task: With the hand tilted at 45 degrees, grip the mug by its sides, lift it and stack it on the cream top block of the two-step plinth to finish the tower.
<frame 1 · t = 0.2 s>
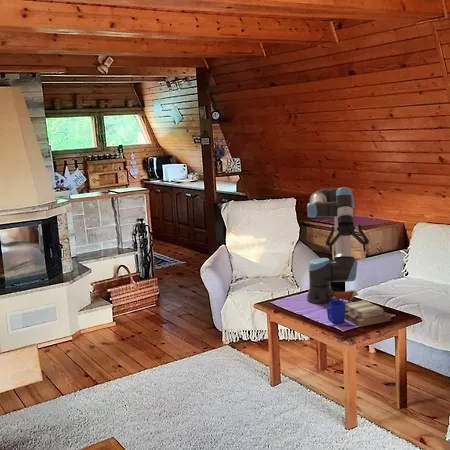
hand: (348, 258, 266), 36 cm above the table, tool tilted 35°, fingers open, 13 cm apart
plinth: (363, 317, 287), on the table
mug: (335, 323, 283), on the table
bull figurine: (346, 304, 310), on the table
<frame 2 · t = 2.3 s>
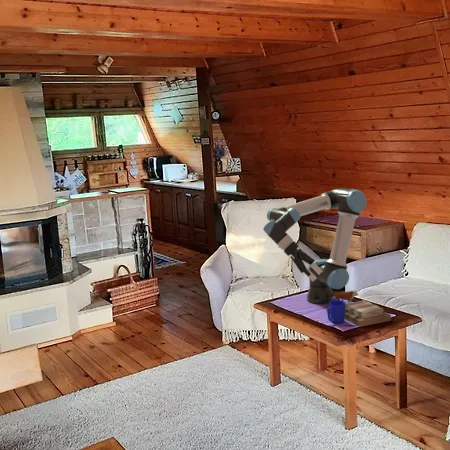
hand: (317, 276, 282), 23 cm above the table, tool tilted 45°, fingers open, 13 cm apart
nothing on the table moved.
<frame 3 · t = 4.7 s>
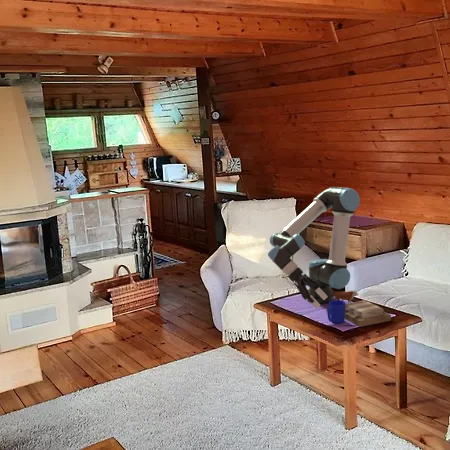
hand: (322, 302, 282), 10 cm above the table, tool tilted 45°, fingers open, 13 cm apart
nothing on the table moved.
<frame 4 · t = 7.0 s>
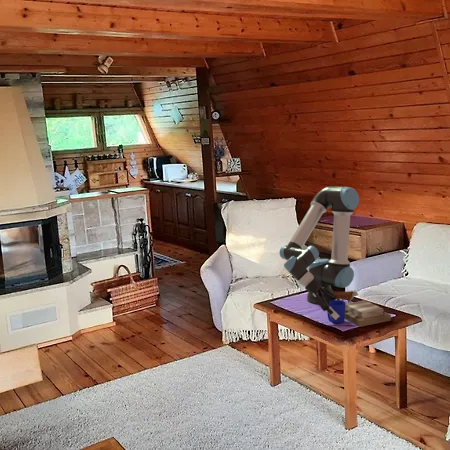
hand: (340, 313, 281), 5 cm above the table, tool tilted 45°, fingers closed on mug, 11 cm apart
mug: (335, 323, 283), on the table, touching gripper
everything else where it was.
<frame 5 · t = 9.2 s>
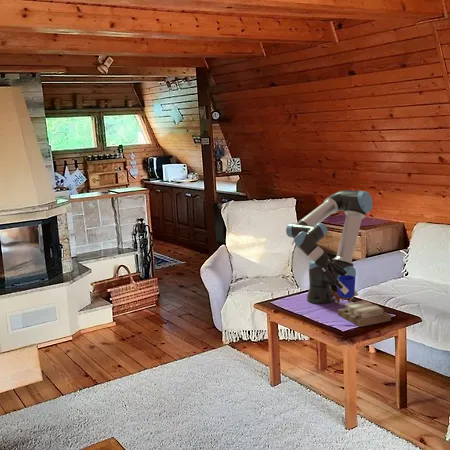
hand: (350, 288, 280), 17 cm above the table, tool tilted 45°, fingers closed on mug, 11 cm apart
mug: (345, 298, 282), point 12 cm above the table, touching gripper
everything else where it was.
when the fingers open (12 cm above the table, at t = 11.6 s): mug drops 1 cm, resting on plinth.
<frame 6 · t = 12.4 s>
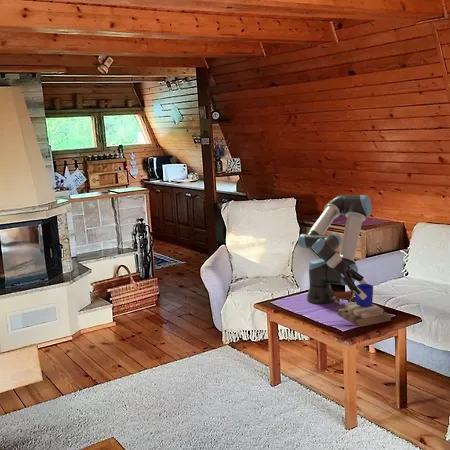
hand: (367, 294, 284), 13 cm above the table, tool tilted 45°, fingers open, 13 cm apart
mug: (363, 306, 287), point 6 cm above the table, touching plinth
everything else where it was.
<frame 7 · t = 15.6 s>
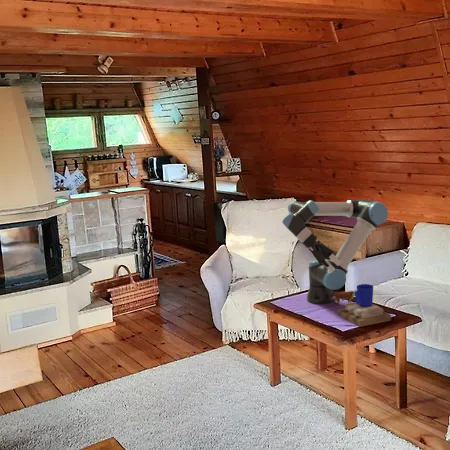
hand: (336, 267, 289), 26 cm above the table, tool tilted 45°, fingers open, 13 cm apart
nothing on the table moved.
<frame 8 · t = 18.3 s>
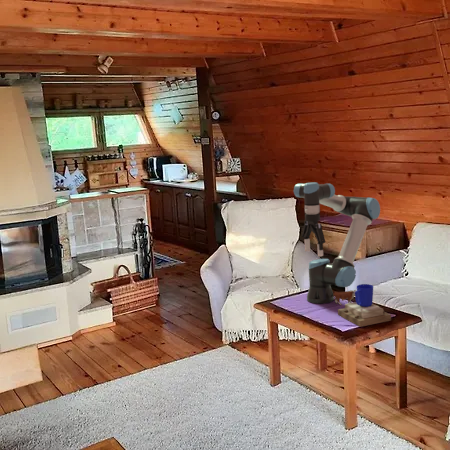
hand: (313, 253, 291), 33 cm above the table, tool pointing down, fingers open, 13 cm apart
nothing on the table moved.
at the end: mug inside the target area on the plinth (0.3 cm from its centre), point 5.8 cm above the plinth's base; mug tilted 0°; the gripper is holding nothing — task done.
